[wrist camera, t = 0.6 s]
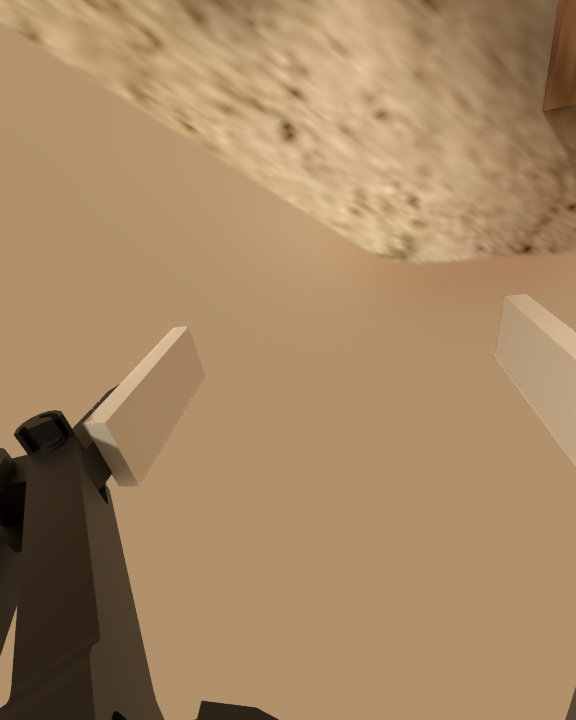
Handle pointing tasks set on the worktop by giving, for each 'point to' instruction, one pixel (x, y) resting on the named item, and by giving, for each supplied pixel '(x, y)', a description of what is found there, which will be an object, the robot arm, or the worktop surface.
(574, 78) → the box
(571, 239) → the worktop surface
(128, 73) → the worktop surface
